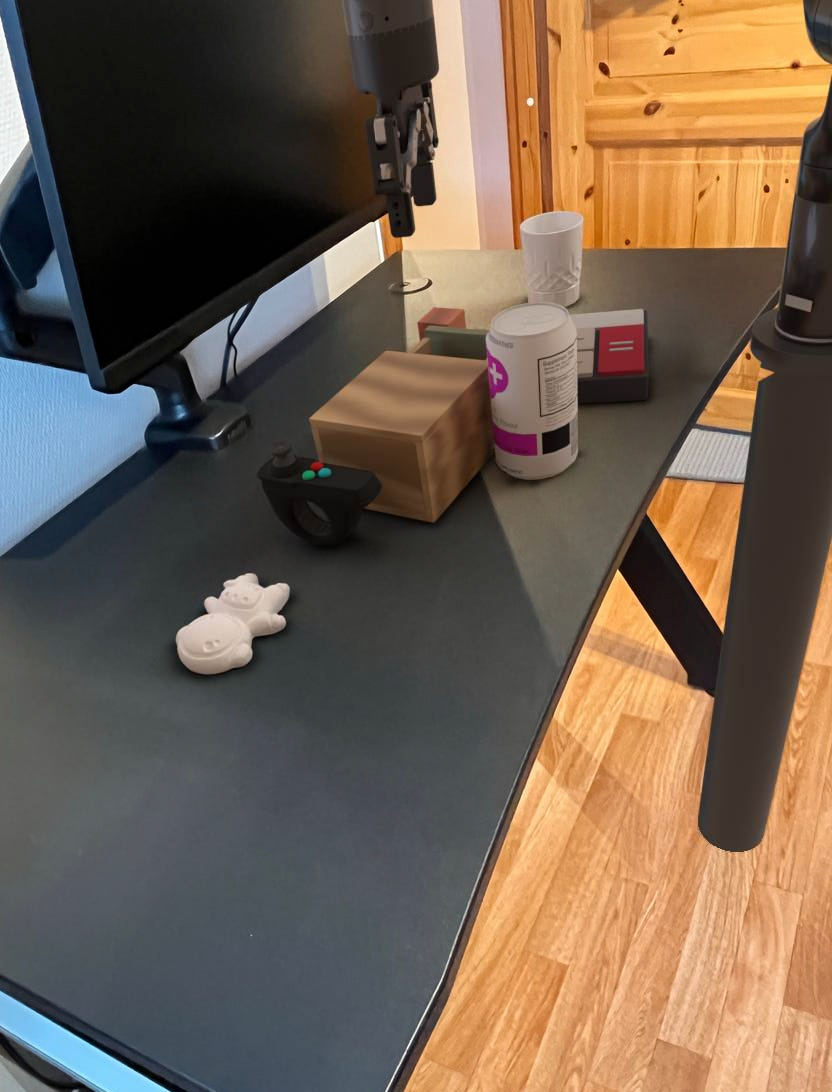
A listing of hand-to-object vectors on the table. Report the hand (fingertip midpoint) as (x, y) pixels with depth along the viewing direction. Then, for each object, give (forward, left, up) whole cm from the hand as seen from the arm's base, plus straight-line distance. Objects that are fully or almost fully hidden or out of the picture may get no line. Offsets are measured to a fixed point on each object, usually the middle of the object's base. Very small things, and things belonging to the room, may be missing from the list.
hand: (415, 219), depth 84 cm
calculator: (-13, -14, -22) cm, 29 cm away
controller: (-1, +24, -22) cm, 32 cm away
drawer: (-3, 0, -21) cm, 21 cm away
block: (+8, -16, -22) cm, 28 cm away
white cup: (0, -32, -22) cm, 39 cm away
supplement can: (-14, +5, -22) cm, 26 cm away
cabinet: (-3, +11, -22) cm, 24 cm away
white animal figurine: (0, +38, -22) cm, 43 cm away
